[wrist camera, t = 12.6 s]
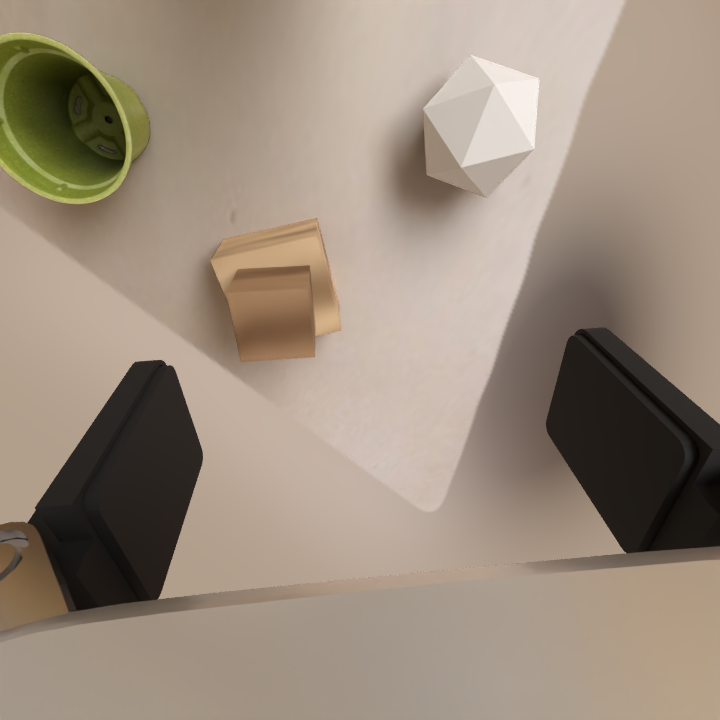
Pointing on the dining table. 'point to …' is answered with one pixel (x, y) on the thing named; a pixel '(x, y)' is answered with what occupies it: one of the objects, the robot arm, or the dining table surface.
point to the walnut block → (273, 313)
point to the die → (480, 125)
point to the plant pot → (65, 121)
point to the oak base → (284, 264)
